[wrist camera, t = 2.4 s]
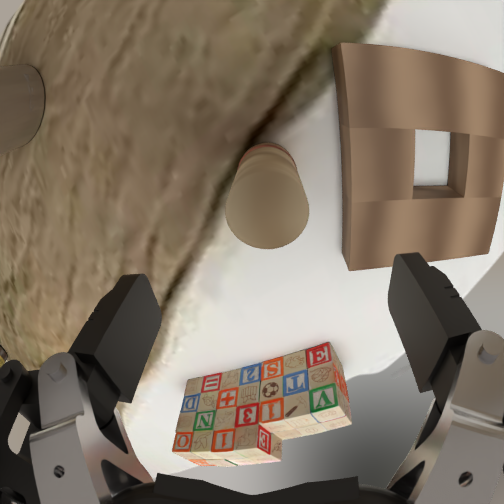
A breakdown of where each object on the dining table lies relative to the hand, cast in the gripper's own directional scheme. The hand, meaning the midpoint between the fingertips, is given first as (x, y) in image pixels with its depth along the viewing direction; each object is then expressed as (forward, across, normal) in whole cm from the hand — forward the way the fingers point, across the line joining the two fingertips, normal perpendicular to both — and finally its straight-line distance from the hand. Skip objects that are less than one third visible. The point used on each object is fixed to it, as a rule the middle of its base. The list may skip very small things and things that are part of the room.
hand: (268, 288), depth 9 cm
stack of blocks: (+16, +4, +28) cm, 32 cm away
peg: (+16, 0, 0) cm, 16 cm away
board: (+16, -14, 0) cm, 21 cm away
